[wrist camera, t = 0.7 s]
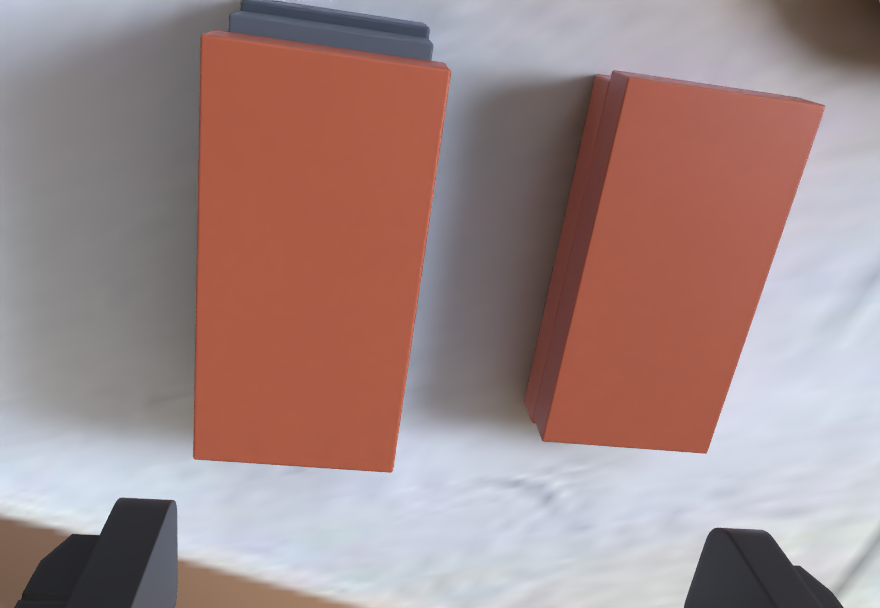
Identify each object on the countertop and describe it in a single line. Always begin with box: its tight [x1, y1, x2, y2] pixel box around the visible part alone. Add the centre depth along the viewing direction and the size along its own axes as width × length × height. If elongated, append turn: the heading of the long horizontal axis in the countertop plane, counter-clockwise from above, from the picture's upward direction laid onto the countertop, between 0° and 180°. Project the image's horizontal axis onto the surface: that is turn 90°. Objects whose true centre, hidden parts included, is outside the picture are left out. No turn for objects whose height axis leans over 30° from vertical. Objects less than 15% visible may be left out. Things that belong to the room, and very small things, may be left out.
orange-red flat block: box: [524, 70, 825, 453], centre depth 26 cm, size 13×6×3 cm, turn 172°
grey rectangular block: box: [229, 0, 433, 61], centre depth 24 cm, size 14×5×4 cm, turn 172°
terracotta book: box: [193, 30, 451, 472], centre depth 22 cm, size 12×6×2 cm, turn 172°
